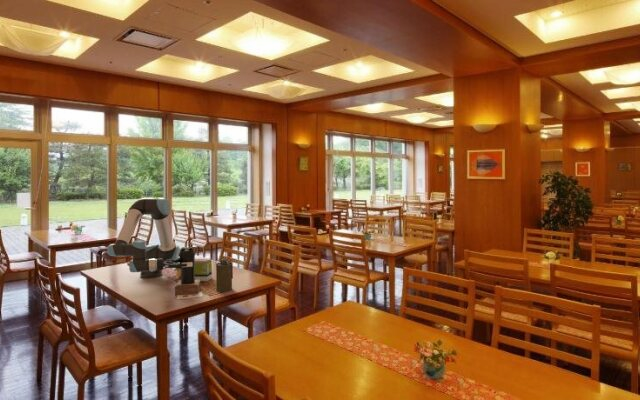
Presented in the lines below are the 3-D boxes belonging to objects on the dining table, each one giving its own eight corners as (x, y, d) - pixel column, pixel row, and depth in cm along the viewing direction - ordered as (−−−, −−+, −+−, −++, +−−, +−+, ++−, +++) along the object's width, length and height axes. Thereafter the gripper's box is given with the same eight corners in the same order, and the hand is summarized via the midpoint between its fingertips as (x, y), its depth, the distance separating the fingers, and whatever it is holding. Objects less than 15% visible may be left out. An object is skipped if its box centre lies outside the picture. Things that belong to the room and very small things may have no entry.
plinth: (178, 289, 263) (178, 280, 263) (200, 288, 266) (200, 279, 265) (175, 295, 249) (174, 286, 249) (198, 294, 252) (197, 284, 251)
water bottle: (181, 280, 262) (180, 246, 260) (197, 280, 263) (196, 245, 261) (177, 284, 252) (176, 249, 250) (194, 284, 252) (193, 248, 251)
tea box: (212, 278, 291) (212, 258, 290) (207, 281, 281) (206, 261, 280) (192, 277, 292) (192, 257, 291) (186, 281, 282) (186, 260, 281)
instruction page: (177, 294, 252) (177, 293, 252) (201, 292, 257) (201, 291, 257) (176, 299, 243) (176, 298, 243) (202, 296, 248) (202, 296, 248)
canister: (219, 293, 255) (219, 262, 254) (213, 289, 264) (213, 259, 262) (235, 290, 262) (235, 260, 260) (229, 286, 270) (228, 257, 268)
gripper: (157, 266, 261) (191, 263, 269) (156, 275, 238) (193, 272, 246) (157, 254, 261) (190, 252, 268) (155, 263, 238) (192, 260, 245)
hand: (192, 261), depth 257 cm, fingers open, 13 cm apart
